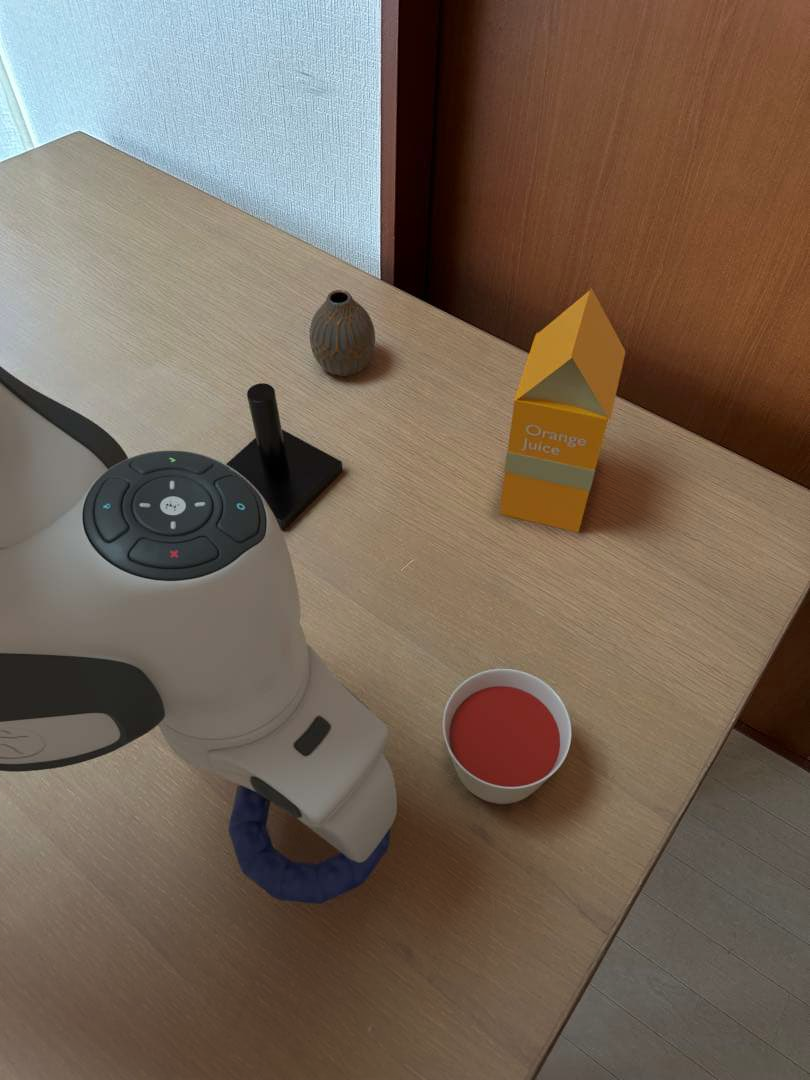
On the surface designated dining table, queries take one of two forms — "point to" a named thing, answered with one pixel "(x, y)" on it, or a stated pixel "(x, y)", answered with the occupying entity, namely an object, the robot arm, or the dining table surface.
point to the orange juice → (562, 416)
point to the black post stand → (282, 461)
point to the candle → (505, 734)
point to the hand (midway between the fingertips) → (264, 780)
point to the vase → (342, 335)
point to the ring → (279, 871)
